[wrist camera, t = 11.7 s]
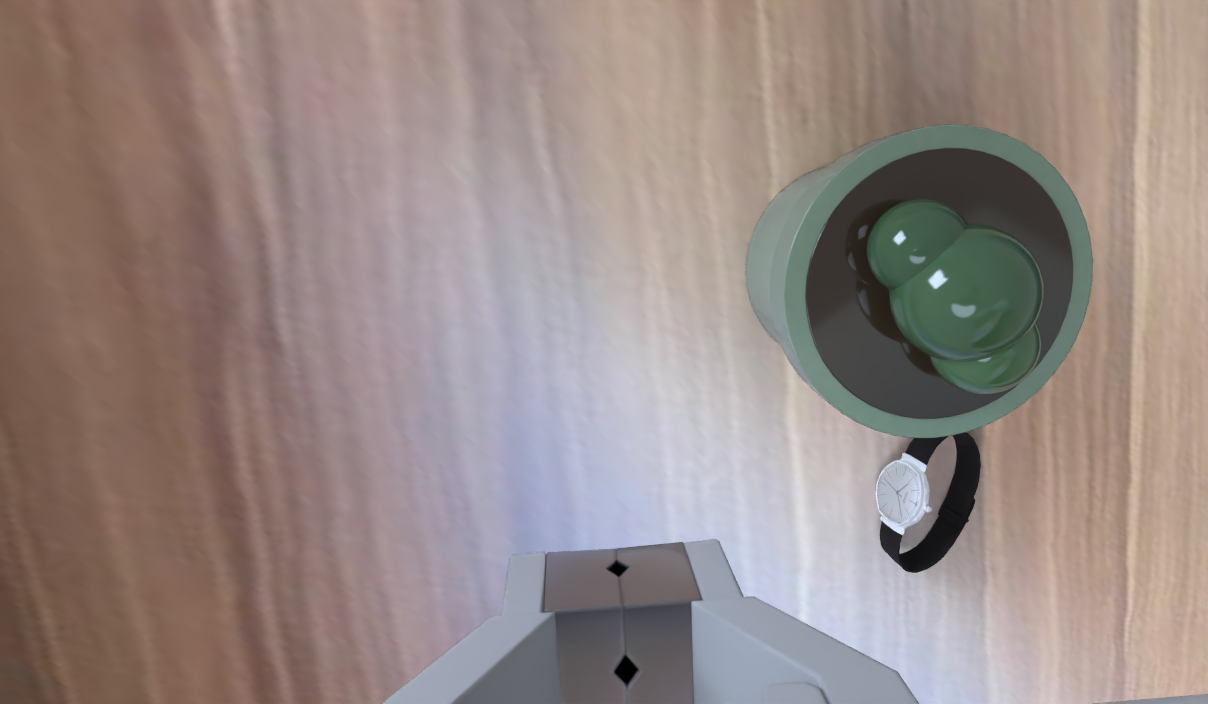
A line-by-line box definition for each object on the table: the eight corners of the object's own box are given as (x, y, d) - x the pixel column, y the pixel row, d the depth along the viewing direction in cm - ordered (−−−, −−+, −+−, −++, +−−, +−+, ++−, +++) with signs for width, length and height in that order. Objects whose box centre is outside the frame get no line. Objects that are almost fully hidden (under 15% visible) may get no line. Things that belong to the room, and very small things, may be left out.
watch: (897, 408, 38) (931, 430, 34) (982, 428, 38) (1024, 451, 35) (852, 543, 39) (880, 577, 36) (934, 562, 40) (969, 597, 36)
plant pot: (727, 151, 35) (822, 118, 22) (966, 140, 35) (1203, 100, 22) (730, 386, 37) (818, 488, 24) (955, 373, 38) (1164, 466, 24)
